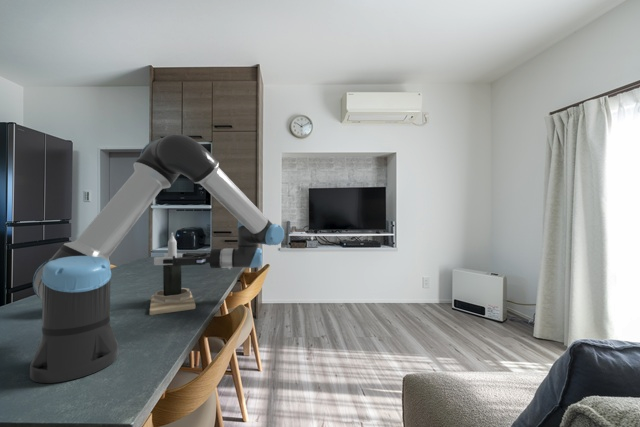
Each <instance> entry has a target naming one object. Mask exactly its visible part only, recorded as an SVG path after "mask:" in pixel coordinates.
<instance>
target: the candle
mask: <svg viewBox="0 0 640 427" xmlns="http://www.w3.org/2000/svg"><path fill="white" fill-rule="evenodd" d="M177 243H178V242H177V240H176V238H175V236H174V232H171V233H170V237H169V240H168V241H167V254H168V257H173V256H175V258H177V254H178V252H177V250H178V249H177V246H178V245H177ZM162 273H163V276H162V278H163V280H162V282H163V284H162V286H163V288H162V290H163V296H170V295H179V294H181V288H182V265H181V266H173V265H162Z"/></svg>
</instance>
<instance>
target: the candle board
mask: <svg viewBox="0 0 640 427" xmlns="http://www.w3.org/2000/svg"><path fill="white" fill-rule="evenodd" d="M195 302H196V301H195V300H194V297H193V294H192V291H191V290H190V288H185V287H181V294H179V295H170V296H163V289H161V290H157V291H154V292H153V295H151V296H150V305H149V306H150V307H149V316H155V315H160V314H167V313H175V312H182V311H183V312H184V311H190V310H196V303H195Z"/></svg>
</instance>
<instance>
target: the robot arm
mask: <svg viewBox="0 0 640 427" xmlns="http://www.w3.org/2000/svg"><path fill="white" fill-rule="evenodd" d="M219 165H220V163H219V160H217V159H216V157H214V156H213V154H212V153H211V152H209V151H208V150H207V148H205V147H204V146H203V145H202V144H201V143H199V142H198V141H196V140H195V139H193V138H192V137H190V136H188V135H185V134H182V133H172V134H168V135H165V136H164V137H161V138H159V139H155V140H153V141H150V142H148V143H147V144H145V146H144V147H143V148H142V150H141V152H140V156H139V157H138V158H137V159H136V160H135V162H134V163H133V165H132V166H133V169H134V171H133V173H132V174H131V176H129V178H128V179H127V180H126V181H125V183H123V185H122V186H121V187H120V188H119V189H118V191H117V192H116V193H115V194H113V196H112V198H111V199H109V201H108V202H107V204H105V206H103V208H102V210H100V211H99V213H98V214H97V215H96V216H95V217H94V219H93V220H92V221H91V222H90V224H88V225H87V227H86V228H85V229H84V230H83V231H82V233H81V234H80V235H79V236H78V237H77V239H76V240H74V241H71V242H65V243H64V244H62V245H61V246H60V248H59V249H58V250H57V251H56V253H54V255H52V257H51V258H49V259H48V260H45V262H43V263H41V265H40V266H39V267H38V268H37V269H36V270H35V273H34V275H33V279H32V288H33V291H34V294H36V296H37V297H38V298H39V299H40V301H41V302H42V305H41V306H42V307H41V308H42V309H41V310H42V313H41V315H42V316H41V324H42V325H41V327H42V328H41V338H40V341H39V343H38V345H37V348H36V350H35V353H34V354H33V355H34V356H33V358H32V360H31V363H30V366H29V379H30V380H31V381H33V382H35V383H41V384H51V383H52V384H55V383H61V382H66V381H67V382H68V381H72V380H76V379H77V380H78V379H79V378H83V377H87V376H89V375H91V374H96V373H98V372H99V371H102V370H103V369H106V368H107V367H109V366H110V365H112V364H113V363H114V362H115V361H116V360H117V358H118V357H119V350H120V349H119V348H120V346H119V343H118V340H117V338H116V336H115V333H114V330H113V328H112V326H111V277H112V270H111V261H110V257H111V255H112V254H113V253H114V251H116V249H117V248H118V246H119V245H120V244H121V243H122V241H123V239H124V238H125V237H126V236H127V235H128V233H129V232H130V231H131V229H132V228H133V227H134V226H135V224H136V223H137V222H138V220H139V219H140V218H141V216H143V214H144V213H145V211H146V210H147V209H148V207H149V206H150V205H151V204H152V202H153V201H154V200H155V198H156V197H158V194H159V193H160V192H161V191H162V190H163V189H169V188H171V187H172V185H173V184H174V183H175V181H176V180H177V179H178V178H179V176H180V175H183V176H184V177H187V178H188V179H189V180H190V181H192V183H194V184H199V185H200V186H202V187H203V189H205V190H206V191H207V192H208V193H209V194H210V195H211V196H212V197H213V198H215V200H216V201H217V202H218V203H219V204H220V205H222V206H223V207H224V208H225V209H226V210H227V211H228V212H229V213H230V214H231V215H232V216H233V217H234V218H235V219H236V220H237V227H236V228H237V229H236V230H237V247H236V248H229V247H228V248H223V249H221V248H212V249H211V250H210V252H186V253H185V252H184V253H177V258H175V256H173V257H168V253H164V254H163V256H162V257H161V256H160V257H159V256H158V257H157V256H156V257H153V266H163V265H173V266H181V267H182V266H203V265H206V264H208V263H209V267H210V269H221V268H223V269H227V270H231V268H232V269H238V268H239V269H240V268H241V269H246V268H247V269H248V268H249V269H252V268H260V267H262V264H263V248H259V247H258V244H259V245H264V246H265V245H266V246H279V245H280V244H281V243H282V242H283V240H284V238H285V230H284V228H283V226H281V225H280V224H276V223H272V222H271V221H270V220H269V219H268V217H266V216H265V215H264V213H262V211H261V210H260V209H259V208H258V207H257V206H256V205H255V204H254V203H253V202H252V201H251V200H250V199H249V198H248V197H247V195H246V194H245V193H244V192H243V191H242V190H241V189H240V188H239V187H238V186H237V185H236V184H235V183H234V182H233V181H232V179H230V178H229V176H228V175H227V174H226V173H225V172H224V171H223V170H222V169H221V168H220V167H219Z"/></svg>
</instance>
